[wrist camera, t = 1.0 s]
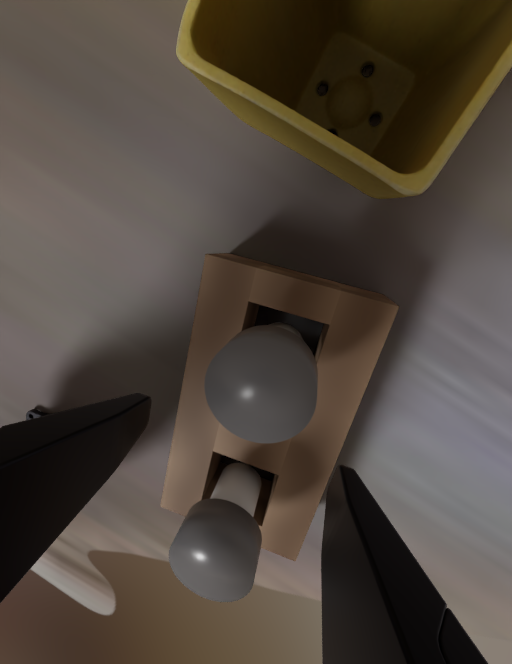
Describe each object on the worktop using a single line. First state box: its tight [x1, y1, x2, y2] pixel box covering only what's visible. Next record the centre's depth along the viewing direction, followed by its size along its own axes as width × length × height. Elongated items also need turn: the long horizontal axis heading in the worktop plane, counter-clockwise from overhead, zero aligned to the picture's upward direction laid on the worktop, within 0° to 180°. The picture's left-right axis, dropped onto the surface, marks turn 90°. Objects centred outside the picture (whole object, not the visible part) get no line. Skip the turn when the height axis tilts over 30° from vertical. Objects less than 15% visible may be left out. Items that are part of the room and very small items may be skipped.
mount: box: [160, 253, 399, 561], centre depth 19 cm, size 10×18×4 cm, turn 166°
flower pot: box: [176, 0, 512, 199], centre depth 11 cm, size 9×9×9 cm
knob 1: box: [204, 323, 318, 444], centre depth 14 cm, size 4×4×6 cm
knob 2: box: [169, 463, 262, 602], centre depth 17 cm, size 4×4×6 cm
